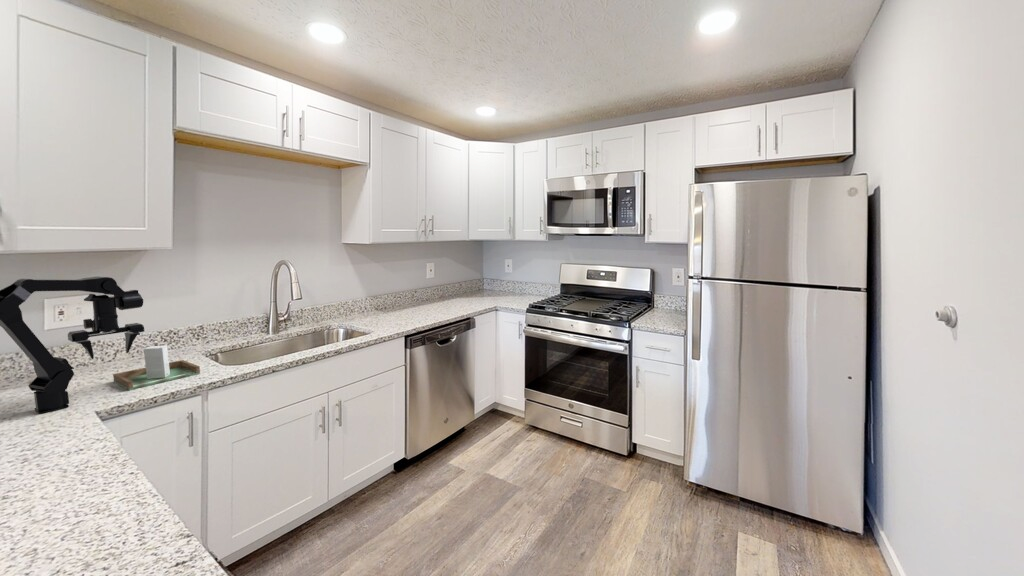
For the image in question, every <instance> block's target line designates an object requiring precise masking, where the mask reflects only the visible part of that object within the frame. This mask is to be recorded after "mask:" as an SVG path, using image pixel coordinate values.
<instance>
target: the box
mask: <svg viewBox="0 0 1024 576" xmlns="http://www.w3.org/2000/svg"><path fill="white" fill-rule="evenodd" d="M169 369H170V375H168V376H167V377H165V378H154V379H147V374H146V366H144V367H141V368H136V369H131V370H125V371H122V372H117V373H113V374H112V376H113V377H112V378H113V382H114V383H115V384H117V385H118V386H119V387H122V388H124V389H126V390H128V391H132V390H133V391H134V390H136V389H142V388H146V387H149V386H154V385H158V384H163V383H166V382H167V383H168V382H172V381H176V380H179V379H184V378H189V377H192V376H196V375H200V374H201V368H200V366H199V365H197V364H194V363H192V362H190V361H187V360H185V359H180V360H175V361H171V362H170V361H169Z"/></svg>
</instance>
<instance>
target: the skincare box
mask: <svg viewBox="0 0 1024 576" xmlns="http://www.w3.org/2000/svg"><path fill="white" fill-rule="evenodd" d="M143 357H144V362H145V367H146V374H147V379H154V378H165V377H167V376H168V375H170V369H169V363H170V361H169V351H168V345H167V344H165V345H151V346H147V347H146V348H143Z"/></svg>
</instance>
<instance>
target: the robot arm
mask: <svg viewBox="0 0 1024 576" xmlns="http://www.w3.org/2000/svg"><path fill="white" fill-rule="evenodd" d="M74 291H75V292H86V293H89V295H88V296H86V297H85V298H83V301H84V302H92V306H93V307H92V308H93V319H92V318H86V319H83V328H84V329H85V330H84V329H82V330H81V329H80V330H73V331H69V332H68V333H67V340H68V341H69V342H72V343H76V344H78V345H79V344H80V345H81V346H82V347H83V348H84V350H85V351H86V352H87V354H88V357H90V359H91V360H94V358H95V357H94V356H95V355H94V351H93V346H92V341H91V340H90V339H89V338H92V337H99V336H105V335H113V334H119V333H124V338H125V345H124V346H125V353H127V354H129V353H130V350H131V348H132V345H133V343H134V341H135V339H136V338H137V336H140V335H141V333H144V332H145V327H144V325H143V324H141V323H138V322H135V323H134V322H133V323H127V324H126V323H125V325H124V326H122V327H119V320H118V318H119V315H118V312H117V309H118V310H119V311H125V310H132V309H138V308H140V309H141V308H142V307H143V305H144V299H143V297H142V295H141V294H140V293H139V290H138V289H130V290H124V289H122V287H120V286H119V285H118V283H117V281H116V279H114V278H113V277H109V276H91V277H85V278H78V279H32V278H20V279H17V280H15V281H14V282H13V283H11V284H10V285H8V286H5V287H3V288H2V289H0V327H1V328H2V329H3V330H4V331H5V333H6V334H7V335H8V336H9V337H10V338H11V339H12V340H13V342H14V343H15V344H16V345H17V346H18V347H19V349H21V351H23V353H24V355H26V357H28V359H29V360H30V361H31V362H32V363H33V370H34V373H35V375H36V377H35V378H34V379H33V380H32V381H31V382H30V383H29V384H28V386H27V387H28V388H29V389H30V390H31V391H33V397H34V404H35V407H34V411H36V412H37V413H38V414H40V415H41V414H45V413H50V412H53V411H58V410H62V409H66V408H69V406H70V405H69V404H70V400H69V392H68V391H67V389H68V387H69V385H70V381H71V380H72V379H73V377H74V375H75V372H74V371H73V370H74V369H75V367H73V366H72V365H71V364H70V363H69V360H67V358H64V357H58V356H57V357H56V356H53V355H52V354H51V352H50V350H49V349H47V348H46V346H45V345H44V344H43V343H42V341H41V340H40V339H39V338H38V336H37V335H36V334H35V333H34V332H33V330H32V329H31V328H30V327H29V326H28V325H27V324H26V323H25V321H24V320H23V319H24V318H23V313H22V312H23V311H22V309H21V307H20V305H22V304H23V303H25V302H26V301H27V299H28V298H29V297H30V296H31V295H32V294H33V293H36V292H74ZM95 293H96V294H99V295H96V294H95ZM110 295H111V296H110ZM86 329H87V330H89V329H91V331H87V330H86Z"/></svg>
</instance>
